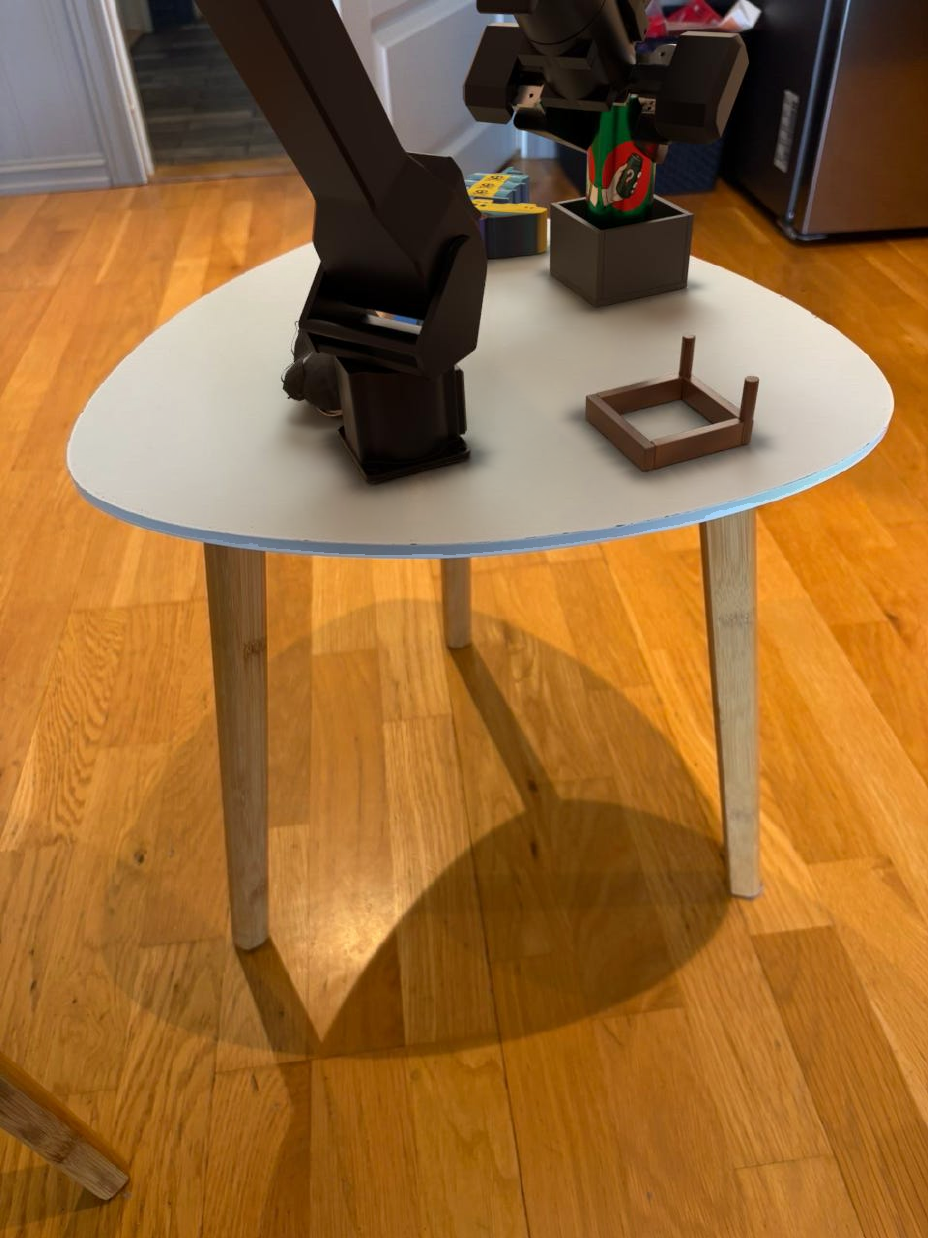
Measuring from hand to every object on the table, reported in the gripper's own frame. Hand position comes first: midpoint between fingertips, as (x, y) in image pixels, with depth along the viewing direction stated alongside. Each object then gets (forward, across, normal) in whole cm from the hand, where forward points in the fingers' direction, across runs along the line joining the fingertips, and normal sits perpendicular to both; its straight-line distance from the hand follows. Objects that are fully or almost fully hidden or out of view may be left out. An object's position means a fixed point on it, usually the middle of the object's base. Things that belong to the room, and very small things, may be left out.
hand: (629, 153), depth 70 cm
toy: (+3, +16, +7) cm, 18 cm away
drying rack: (-8, -13, +22) cm, 27 cm away
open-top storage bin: (+6, 0, +7) cm, 9 cm away
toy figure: (-10, +9, +24) cm, 27 cm away
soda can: (+4, 0, +6) cm, 7 cm away
